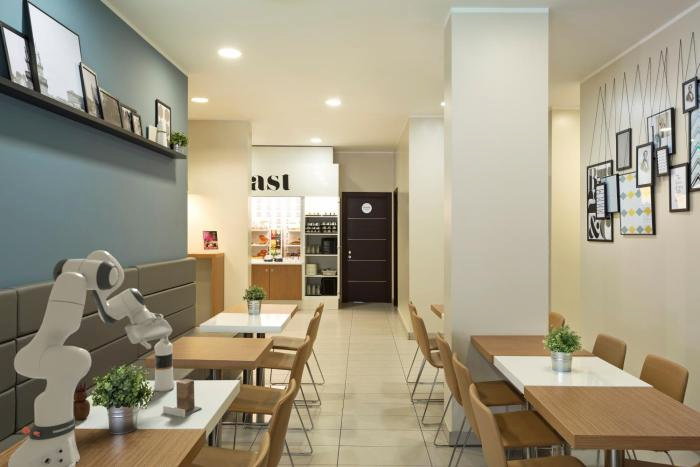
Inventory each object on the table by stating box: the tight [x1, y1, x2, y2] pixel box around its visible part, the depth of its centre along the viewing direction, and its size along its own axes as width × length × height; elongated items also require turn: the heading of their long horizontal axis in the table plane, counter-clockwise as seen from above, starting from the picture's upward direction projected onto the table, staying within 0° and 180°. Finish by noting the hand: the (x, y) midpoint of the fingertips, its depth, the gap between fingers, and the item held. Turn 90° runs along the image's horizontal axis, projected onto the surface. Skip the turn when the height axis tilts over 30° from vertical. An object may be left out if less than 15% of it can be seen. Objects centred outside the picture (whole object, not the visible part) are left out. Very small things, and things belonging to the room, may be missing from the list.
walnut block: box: [175, 378, 196, 412], centre depth 213 cm, size 5×5×12 cm
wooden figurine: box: [73, 381, 91, 421], centre depth 206 cm, size 7×6×15 cm
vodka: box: [153, 338, 176, 393], centre depth 243 cm, size 9×9×30 cm
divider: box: [162, 404, 186, 419], centre depth 209 cm, size 1×12×3 cm, turn 61°
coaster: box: [185, 405, 202, 417], centre depth 213 cm, size 9×9×1 cm
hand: (158, 346), depth 221 cm, fingers open, 8 cm apart
